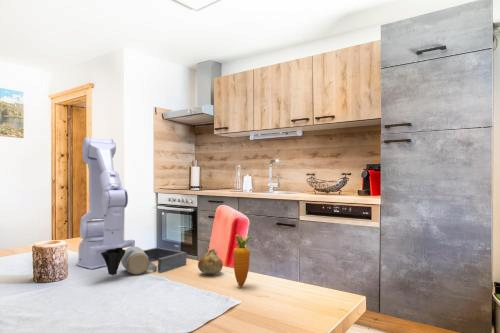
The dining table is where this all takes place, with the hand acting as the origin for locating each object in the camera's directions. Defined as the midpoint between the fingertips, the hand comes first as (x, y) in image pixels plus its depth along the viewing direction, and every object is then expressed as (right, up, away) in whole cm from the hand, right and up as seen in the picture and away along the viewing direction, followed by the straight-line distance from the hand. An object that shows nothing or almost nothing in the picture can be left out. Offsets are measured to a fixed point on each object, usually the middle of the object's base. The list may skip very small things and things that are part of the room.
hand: (112, 274), depth 101 cm
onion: (+29, -2, +6) cm, 30 cm away
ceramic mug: (+5, -2, +8) cm, 10 cm away
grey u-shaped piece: (+9, -2, +16) cm, 18 cm away
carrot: (+39, -2, -6) cm, 39 cm away
